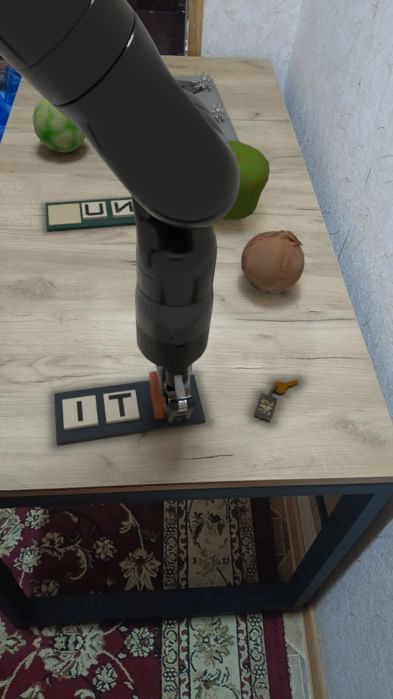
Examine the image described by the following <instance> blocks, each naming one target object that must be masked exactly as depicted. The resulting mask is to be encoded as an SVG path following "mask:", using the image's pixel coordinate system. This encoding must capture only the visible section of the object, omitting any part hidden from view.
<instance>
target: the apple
mask: <svg viewBox="0 0 393 699" xmlns="http://www.w3.org/2000/svg"><path fill="white" fill-rule="evenodd" d="M227 141H228V142H229V144H230V146H231V148H232V149H233V151H234V153H235V156H236V158H237V161H238V165H239V170H240V187H239V192H238V195H237V198H236V201H235V203H234V205H233V206H232V208H231V209H230V211H229V212H228V213H227V215H226V216H225V217H224V218H222V219H221V220H232V221H233V220H234V221H235V220H241V219H246V218H248V217H249V216H251V215H253V214H254V212H255V211H256V209H257V206H258V203H259V201H260V198H261V195H262V193H263V190H264V189H265V187H266V186H267V183H268V181H269V178H270V162H269V160H268V159H267V158H266V156H265V155H264V154H263V153H262V152H261V151H260V150H259V149H258V148H255V147H253V146H252V145H250V144H247V143H244V142H241V141H240V140H239V141H232V140H227Z"/></svg>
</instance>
